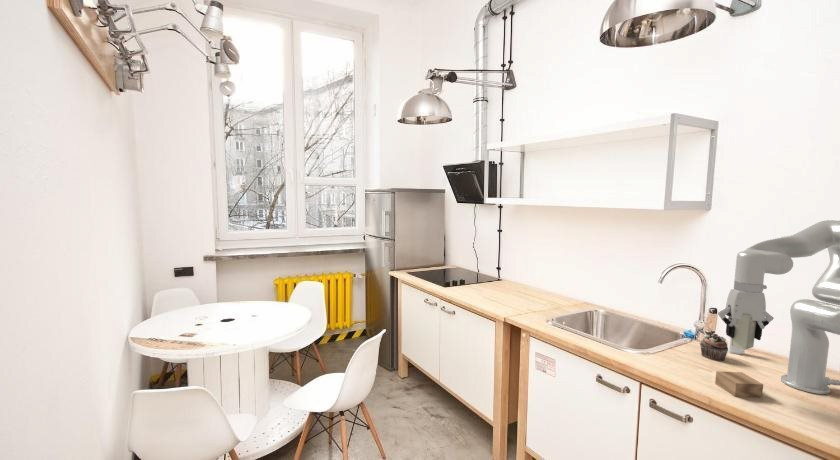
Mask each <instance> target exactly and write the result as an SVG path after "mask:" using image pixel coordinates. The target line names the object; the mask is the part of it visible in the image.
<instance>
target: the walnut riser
mask: <svg viewBox="0 0 840 460" xmlns="http://www.w3.org/2000/svg"><path fill="white" fill-rule="evenodd" d="M715 372H716V373H715V380H714V381H715V383H714V384H715V385H716V386H718V387H720V388H721V389H722V390H724V391H725V392H727V393H728V394H730V395H731V396H733V397H734V398H756V399H757V398H758V399H759V398H760V399H762V398H763V393H764V392H763V390H764V384H763V383H761V382H760V381H758V380H756V379H754V378H753V377H751V376H749V375H747V374H746V373H744V372H741V371H721V370H720V371H719V370H718V371H715Z"/></svg>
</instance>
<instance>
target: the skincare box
mask: <svg viewBox="0 0 840 460" xmlns="http://www.w3.org/2000/svg"><path fill="white" fill-rule="evenodd" d="M733 326H734V327H735V333H734V338H731V346H734V347H737V348H740V349H744V351H747V350H749V349H751V348H754V346H755V329H756V321H752V315H745V314H742V318H741V320H737V322H736V323H735V324H734V325H733Z"/></svg>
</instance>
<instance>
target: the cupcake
mask: <svg viewBox="0 0 840 460" xmlns="http://www.w3.org/2000/svg"><path fill="white" fill-rule="evenodd" d="M699 346H700V351H701V352H700V354H701V356H702V357H703V358H705V359H708V360H712V361H716V362H723V361H725V359H726V357H727V354H728V353H729V352H728V342H726V338H725V337H724V336H720V335H718V334H717V333H714V334H711V333H705V334H704V335H703V338H702V341H701V342H699Z"/></svg>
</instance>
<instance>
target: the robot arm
mask: <svg viewBox="0 0 840 460" xmlns="http://www.w3.org/2000/svg"><path fill="white" fill-rule="evenodd" d="M826 249H827V252H828V255H829V262H828V263H829V264H828V266H827V267H826V269H825V270H824V271H823V273H822V274H821V276H819V278H818V279H817V280H816V282H815V284H814V285H813V287H812V289H811V293H812V294H811V295H812V296H813V297H814V298H815V299H817V300H814V299H807V298H806V299H805V298H804V299H798V300H796V301H794V302H793V303H792V304H791V306H790V310H789V311H790V312H789V313H790V320H791V337H790V338H791V339H790V346H789V354H788V355H789V356H788V364H787V374H784V375H781V376H780V381H781V382H782V383H784V384H785V385H786V386H789V387H791V388H794V389H797V390H800V391H804V392H806V393H810V394H817V395H828V394H830V393H831V388H830V387H829V386H840V380H839V379H831V378H830V377H829V376H826V373H827V365H828V358H829V357H828V356H829V348H830V341H829V337H828V335H827V333H831V334H834V335H838V336H840V220H835V219H834V220H833V219H830V220H829V219H827V220H821V221H818V222H815V224H812V225H810V226H808V227H806V228H804V229H802V230H800V231H798V232H796V233H794V234H792V235H787V236H786V235H785V236H781V237H778V238H777V237H776V238H772V239H767V240H763V241H759V242H758V243H755V244H753V245H751V246H749V247H748V248H746V249H745V250H743V251H739V252H738V253H736V254H737V255H736V261H735V269H734V271H735V272H734V282H733V288H732V289H730V290H729V293H728V296H727V300H726V304H725V308H724V309H722V310H720V311H718V312H717V316H719V317H720V319H721V320H722V322H724V324H725V325H726V326H725V327H726V328H725V334H726V336H727V337H728V338H729V337H731V338H734V333H735V327H734V326H733V325H734V324H735V323H736V322H737V320H741V318H742V314H745V315H752V321H756V329H755V338H754V340H757V341H760V340H761V338H762V334H763V329H765V327H766V326H768V325H769V324H770V323H771V322H772V321H773V320H774V317H773V316H772V315H771V314H770V313H768V312H767V302H766V296H765V293H764V292H763V291H764V290H767V288H768V287H767V285H765V284H764V281H765V274H769V275H770V274H771V275H778V276H779V275H786V274H788V273H789V272H790V271H791V270H792V269H793V267H794V260H793V258H794V259H795V258H797V259H798V258H807V257H812V256H814V255H816V254H819V252H821V251H823V250H824V251H825V250H826Z"/></svg>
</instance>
